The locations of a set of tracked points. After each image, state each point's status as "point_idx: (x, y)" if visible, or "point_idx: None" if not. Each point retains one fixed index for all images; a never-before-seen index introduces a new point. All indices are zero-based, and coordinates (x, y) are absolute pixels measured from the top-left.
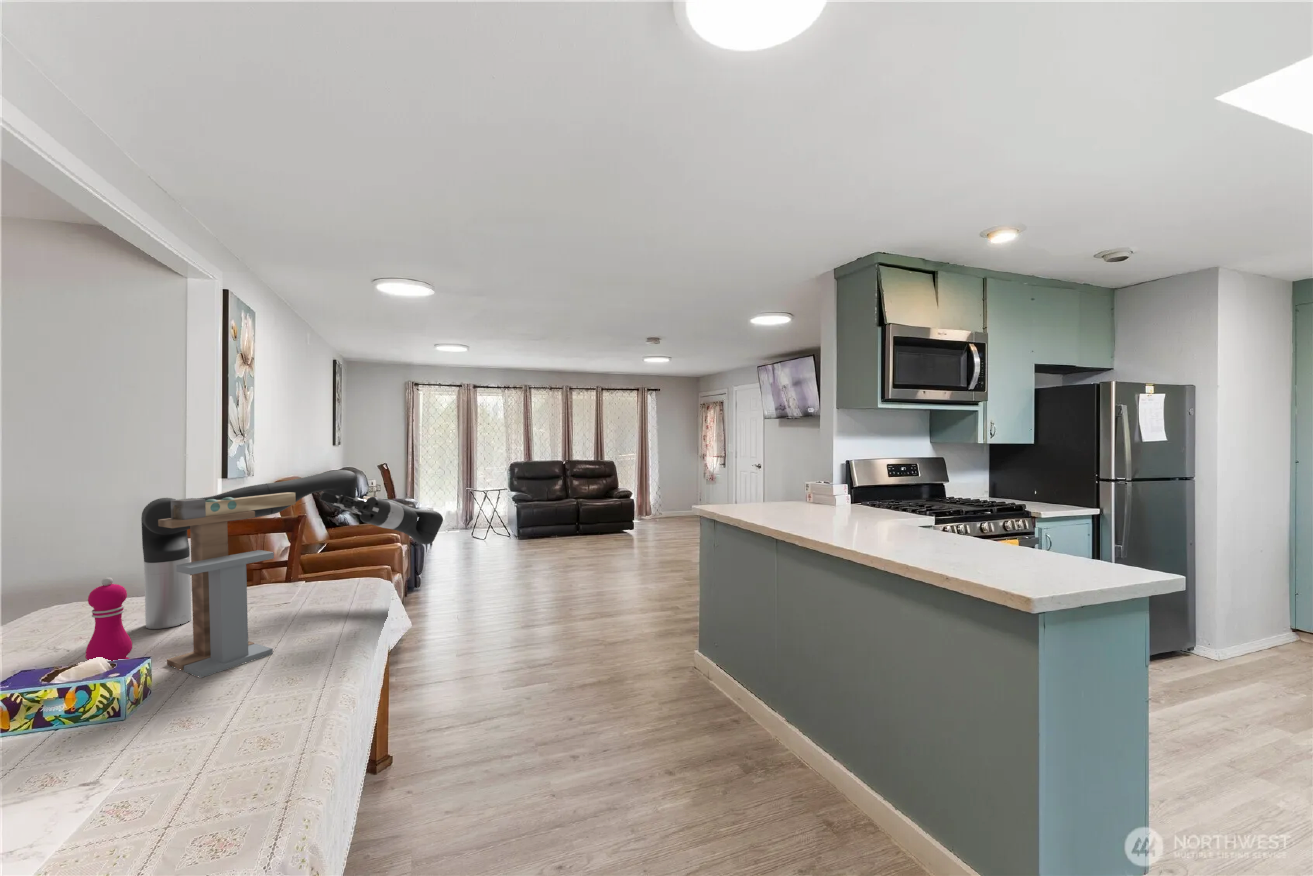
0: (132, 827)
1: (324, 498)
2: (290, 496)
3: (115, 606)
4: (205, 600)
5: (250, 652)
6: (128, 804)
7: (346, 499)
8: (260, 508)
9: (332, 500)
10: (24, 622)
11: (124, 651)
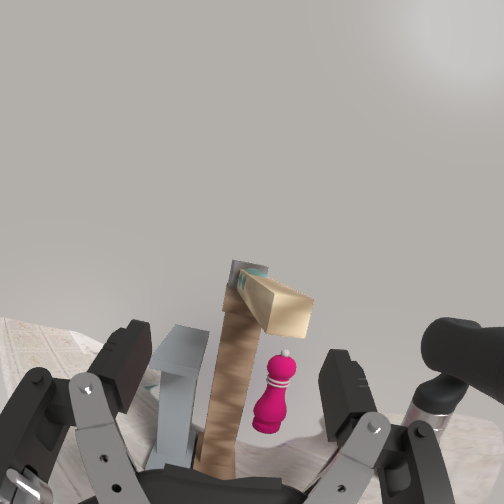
0: (54, 335)
1: (323, 381)
2: (268, 301)
3: (270, 375)
4: (210, 395)
5: (162, 458)
6: (66, 342)
7: (111, 341)
8: (248, 306)
9: (333, 422)
10: (457, 415)
11: (255, 413)
